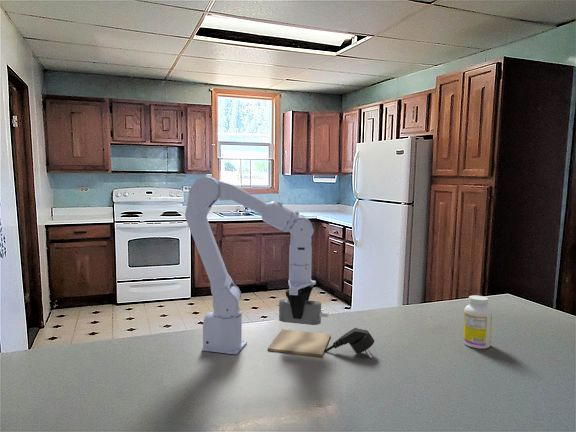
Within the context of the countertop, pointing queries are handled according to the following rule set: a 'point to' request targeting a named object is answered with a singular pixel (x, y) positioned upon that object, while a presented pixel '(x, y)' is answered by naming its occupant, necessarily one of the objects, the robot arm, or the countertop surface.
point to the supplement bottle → (477, 323)
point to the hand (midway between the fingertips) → (299, 315)
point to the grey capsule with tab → (310, 312)
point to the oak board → (300, 343)
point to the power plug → (355, 341)
